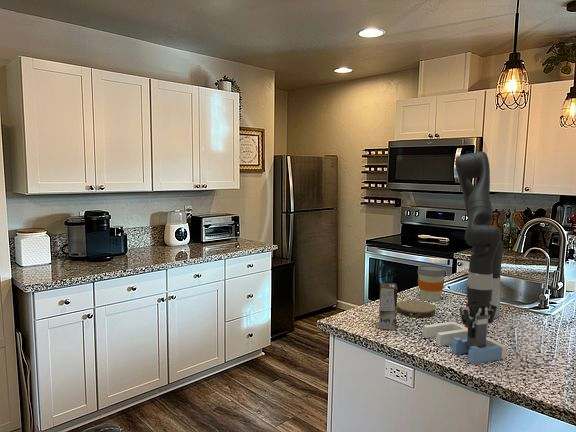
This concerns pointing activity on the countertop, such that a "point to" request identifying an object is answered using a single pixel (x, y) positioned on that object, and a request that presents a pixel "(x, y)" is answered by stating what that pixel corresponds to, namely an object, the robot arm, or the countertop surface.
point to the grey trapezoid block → (479, 332)
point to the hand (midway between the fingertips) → (476, 336)
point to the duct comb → (464, 342)
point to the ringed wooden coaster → (415, 309)
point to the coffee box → (388, 306)
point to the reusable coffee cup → (430, 282)
